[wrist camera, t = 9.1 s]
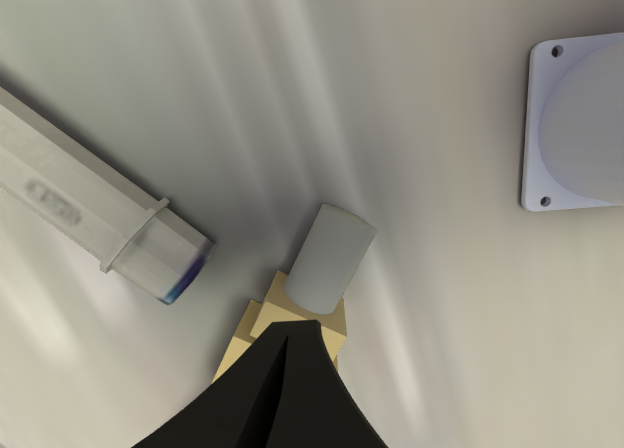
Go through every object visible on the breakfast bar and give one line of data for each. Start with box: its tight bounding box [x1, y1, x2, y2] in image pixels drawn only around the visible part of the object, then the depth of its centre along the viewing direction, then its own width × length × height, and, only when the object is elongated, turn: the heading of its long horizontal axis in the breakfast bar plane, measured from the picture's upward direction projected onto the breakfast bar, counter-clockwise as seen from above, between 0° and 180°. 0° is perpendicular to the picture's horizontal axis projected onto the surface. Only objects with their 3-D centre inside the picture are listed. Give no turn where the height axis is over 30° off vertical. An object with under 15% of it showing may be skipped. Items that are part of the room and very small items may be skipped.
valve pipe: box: [212, 204, 376, 383], centre depth 19 cm, size 20×6×4 cm, turn 155°
